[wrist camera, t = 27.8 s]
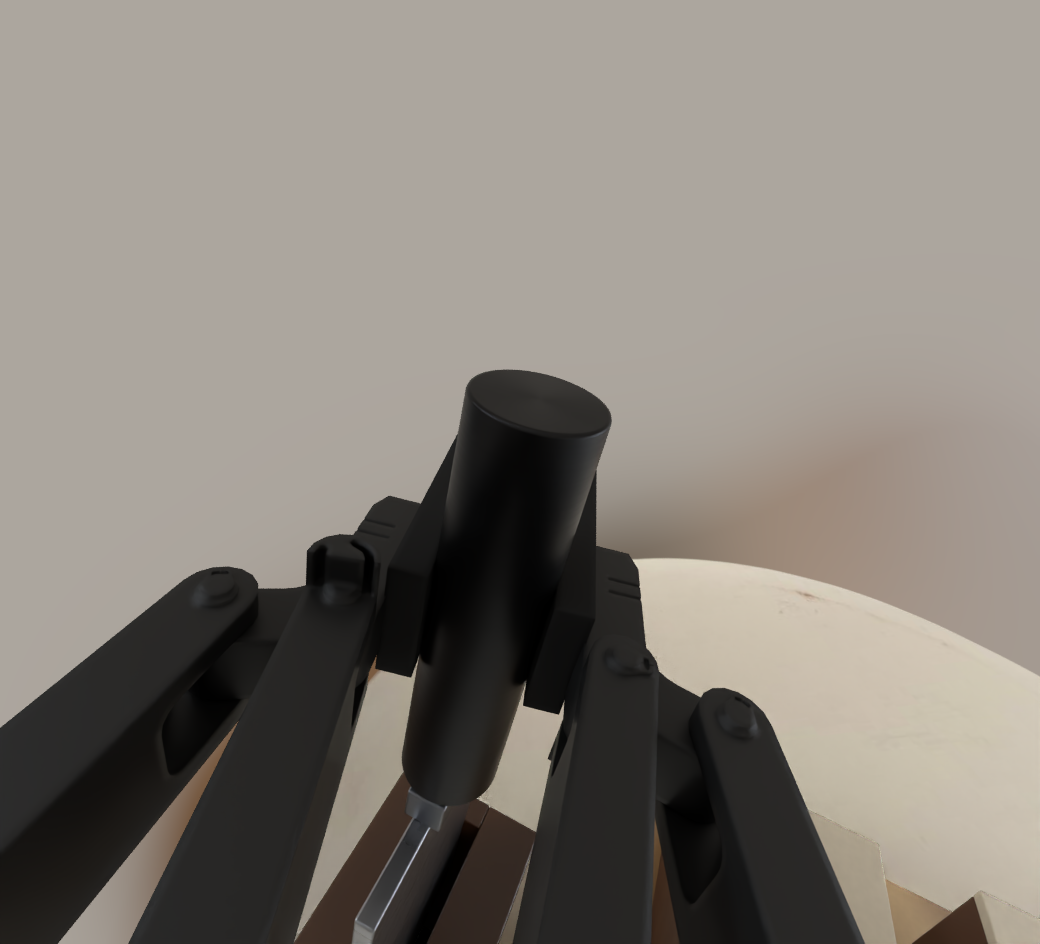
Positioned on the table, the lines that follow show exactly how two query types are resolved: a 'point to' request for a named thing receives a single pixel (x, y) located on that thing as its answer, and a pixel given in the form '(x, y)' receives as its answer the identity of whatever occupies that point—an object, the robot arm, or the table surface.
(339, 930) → the knife block
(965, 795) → the table surface
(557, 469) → the knife
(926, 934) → the cake slice
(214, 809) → the robot arm
